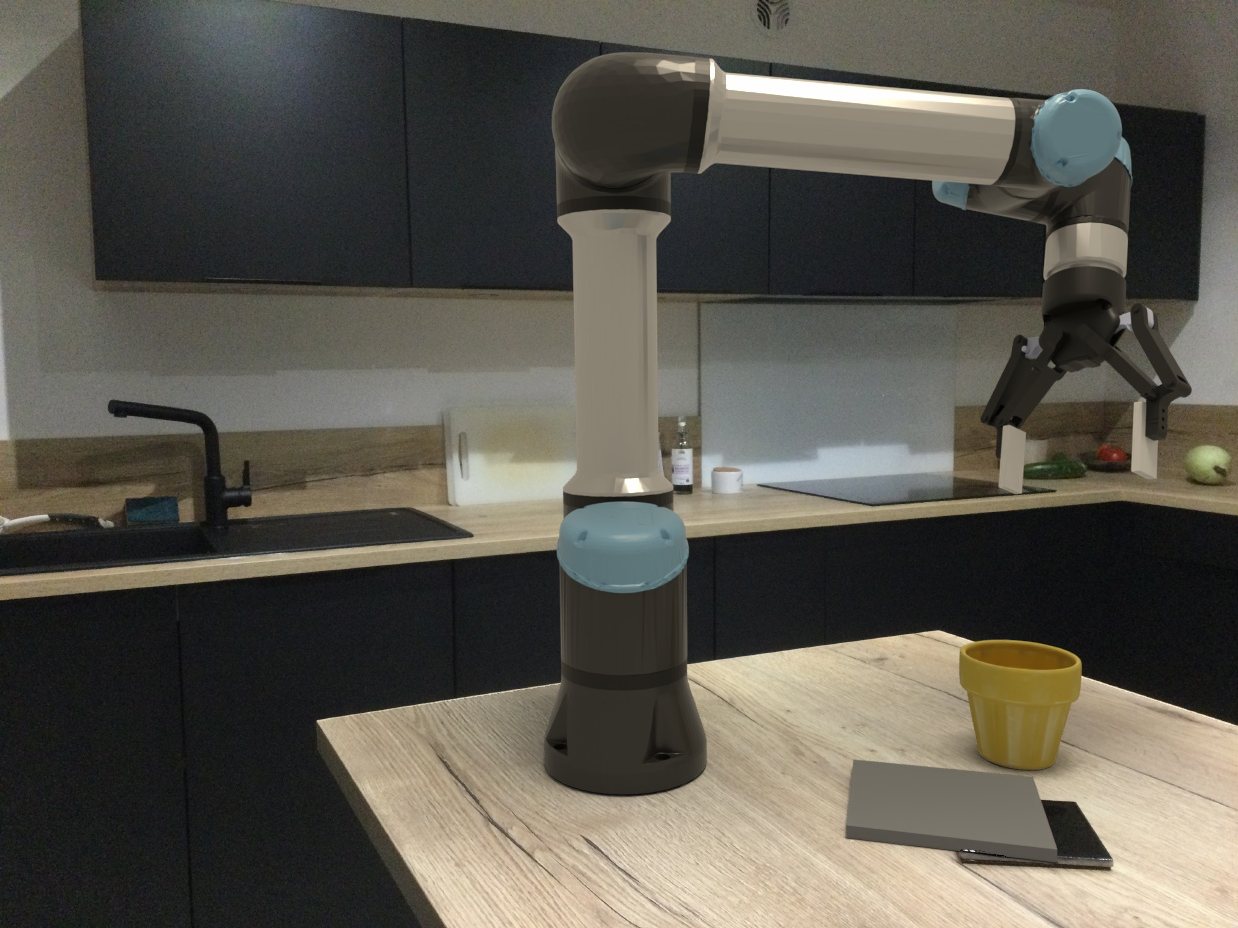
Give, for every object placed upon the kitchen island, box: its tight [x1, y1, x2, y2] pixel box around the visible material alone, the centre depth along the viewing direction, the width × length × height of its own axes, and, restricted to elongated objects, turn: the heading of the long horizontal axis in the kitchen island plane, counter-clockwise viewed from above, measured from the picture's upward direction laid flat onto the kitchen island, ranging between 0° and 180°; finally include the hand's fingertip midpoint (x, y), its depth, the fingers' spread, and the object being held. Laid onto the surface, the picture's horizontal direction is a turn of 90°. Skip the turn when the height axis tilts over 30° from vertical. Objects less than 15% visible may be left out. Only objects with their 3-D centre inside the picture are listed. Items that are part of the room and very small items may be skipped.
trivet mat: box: [845, 758, 1058, 863], centre depth 78 cm, size 15×13×1 cm
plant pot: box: [958, 639, 1083, 771], centre depth 89 cm, size 10×10×10 cm
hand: (1072, 483), depth 91 cm, fingers open, 13 cm apart
